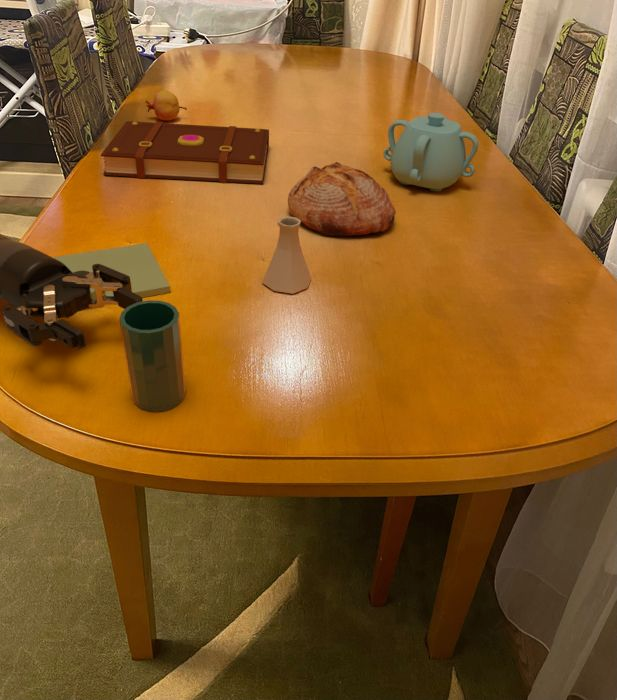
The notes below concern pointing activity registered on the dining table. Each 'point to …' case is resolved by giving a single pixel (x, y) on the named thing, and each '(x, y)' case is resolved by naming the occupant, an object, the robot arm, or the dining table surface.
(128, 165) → the book
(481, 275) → the dining table surface
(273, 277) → the flask
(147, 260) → the scale
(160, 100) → the fruit
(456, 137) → the decorative pot
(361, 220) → the bread
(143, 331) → the cup
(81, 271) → the tare button
